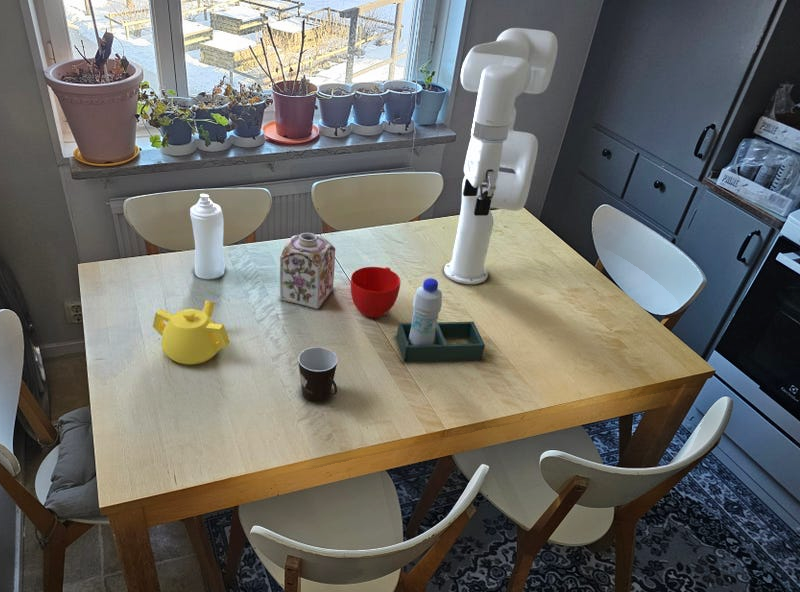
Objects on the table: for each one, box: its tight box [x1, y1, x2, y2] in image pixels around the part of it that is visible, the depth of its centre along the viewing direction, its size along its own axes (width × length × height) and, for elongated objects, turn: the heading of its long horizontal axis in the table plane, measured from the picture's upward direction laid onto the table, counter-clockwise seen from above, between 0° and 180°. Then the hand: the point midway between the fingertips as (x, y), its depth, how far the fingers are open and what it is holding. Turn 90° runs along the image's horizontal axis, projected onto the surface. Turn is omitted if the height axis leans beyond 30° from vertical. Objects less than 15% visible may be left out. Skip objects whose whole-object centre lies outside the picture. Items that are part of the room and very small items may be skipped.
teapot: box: [152, 300, 231, 366], centre depth 153 cm, size 20×18×11 cm
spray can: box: [189, 193, 226, 280], centre depth 175 cm, size 12×11×25 cm
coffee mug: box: [297, 346, 339, 404], centre depth 139 cm, size 12×9×10 cm
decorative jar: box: [279, 232, 336, 310], centre depth 171 cm, size 12×12×18 cm
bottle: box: [407, 277, 443, 345], centre depth 152 cm, size 7×7×20 cm
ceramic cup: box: [350, 266, 402, 319], centre depth 169 cm, size 13×17×10 cm
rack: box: [396, 321, 486, 363], centre depth 157 cm, size 10×19×4 cm, turn 95°
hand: (475, 205), depth 144 cm, fingers open, 9 cm apart
